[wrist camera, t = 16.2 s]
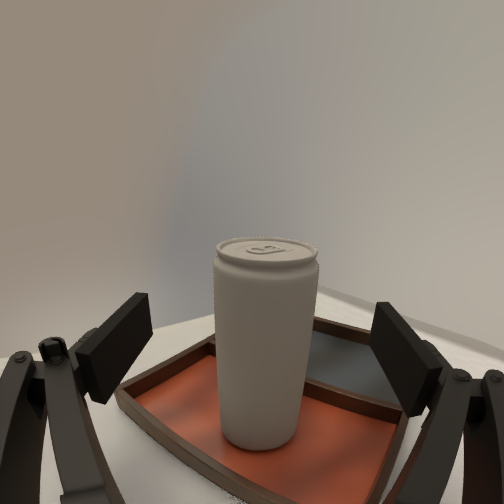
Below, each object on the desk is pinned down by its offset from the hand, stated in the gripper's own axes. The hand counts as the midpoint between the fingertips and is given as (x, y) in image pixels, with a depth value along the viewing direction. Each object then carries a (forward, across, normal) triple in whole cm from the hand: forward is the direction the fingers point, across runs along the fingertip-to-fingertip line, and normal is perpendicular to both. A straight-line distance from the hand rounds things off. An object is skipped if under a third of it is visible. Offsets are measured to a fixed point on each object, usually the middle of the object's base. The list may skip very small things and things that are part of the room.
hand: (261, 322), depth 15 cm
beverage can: (-1, 0, -8) cm, 8 cm away
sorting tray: (+3, +3, -8) cm, 9 cm away
